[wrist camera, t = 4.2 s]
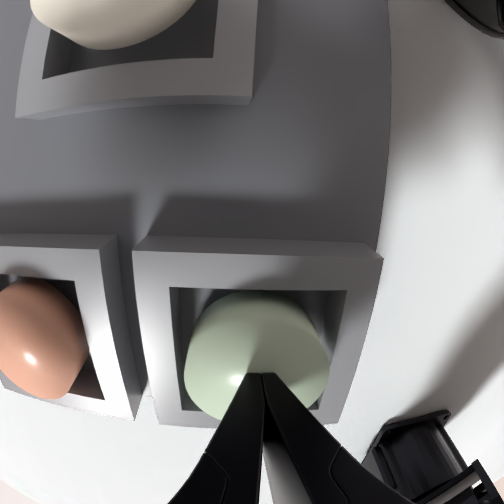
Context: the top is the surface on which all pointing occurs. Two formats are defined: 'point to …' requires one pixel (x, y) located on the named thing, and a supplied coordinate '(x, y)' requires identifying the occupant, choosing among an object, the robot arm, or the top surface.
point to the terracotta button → (40, 338)
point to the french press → (482, 15)
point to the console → (197, 184)
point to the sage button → (253, 349)
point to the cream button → (109, 19)
